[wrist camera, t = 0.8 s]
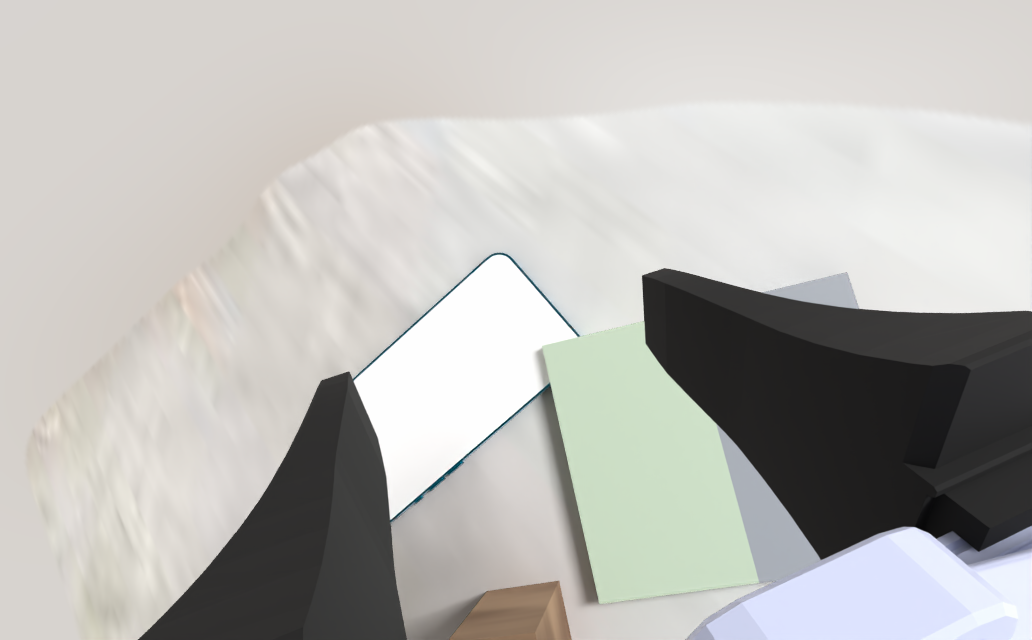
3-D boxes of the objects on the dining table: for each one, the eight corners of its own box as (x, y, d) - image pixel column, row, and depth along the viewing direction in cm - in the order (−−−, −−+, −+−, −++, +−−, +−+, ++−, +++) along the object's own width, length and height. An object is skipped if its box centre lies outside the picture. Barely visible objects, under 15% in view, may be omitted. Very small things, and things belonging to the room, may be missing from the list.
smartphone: (504, 248, 31) (308, 424, 33) (499, 244, 30) (299, 425, 32) (594, 351, 29) (382, 534, 31) (592, 350, 28) (374, 538, 30)
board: (929, 551, 24) (941, 558, 23) (601, 596, 27) (599, 604, 26) (839, 276, 26) (847, 272, 25) (545, 347, 29) (542, 345, 28)
